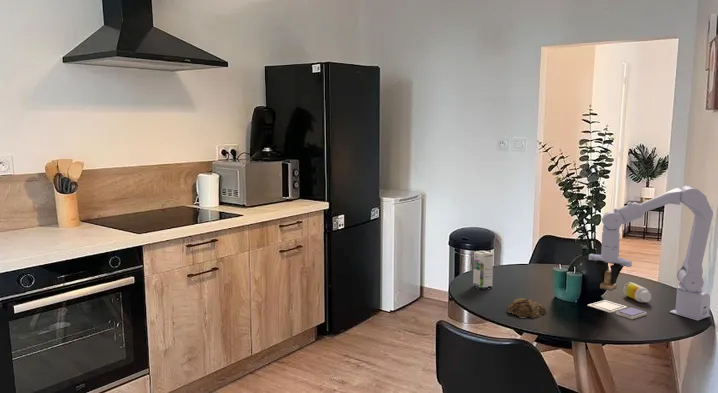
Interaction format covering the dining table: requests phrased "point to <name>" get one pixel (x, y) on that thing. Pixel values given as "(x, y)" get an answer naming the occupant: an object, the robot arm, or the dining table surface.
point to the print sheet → (607, 306)
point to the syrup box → (483, 268)
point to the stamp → (607, 282)
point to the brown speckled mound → (526, 308)
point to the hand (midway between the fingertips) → (608, 282)
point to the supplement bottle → (637, 292)
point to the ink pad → (631, 313)
